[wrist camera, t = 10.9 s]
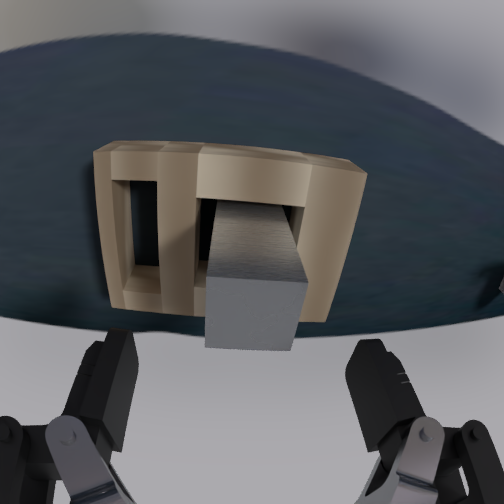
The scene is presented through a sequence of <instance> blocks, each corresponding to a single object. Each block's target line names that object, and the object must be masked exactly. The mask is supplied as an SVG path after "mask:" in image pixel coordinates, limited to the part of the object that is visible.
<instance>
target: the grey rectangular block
mask: <svg viewBox="0 0 504 504" xmlns="http://www.w3.org/2000/svg"><path fill="white" fill-rule="evenodd" d="M308 284H309V282H308V279H307V276H306V273H305V270H304V267H303V264H302V261H301V258H300V256H299V253H298V250H297V247H296V244H295V241H294V238H293V235H292V233H291V230H290V227H289V224H288V221H287V219H286V216H285V213H284V210H283V208H282V205H281V204H271V203H260V202H249V201H237V200H225V199H218V201H217V207H216V214H215V220H214V227H213V233H212V240H211V247H210V254H209V261H208V268H207V276H206V308H205V347H208V348H223V349H242V350H270V351H272V350H273V351H290V350H291V346H292V343H293V339H294V336H295V332H296V329H297V325H298V322H299V318H300V314H301V311H302V307H303V303H304V299H305V295H306V292H307V288H308Z"/></svg>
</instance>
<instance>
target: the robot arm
mask: <svg viewBox="0 0 504 504" xmlns="http://www.w3.org/2000/svg"><path fill="white" fill-rule="evenodd" d="M138 365H139V363H138V356H137V351H136V346H135V342H134V337H133V332H132V331H131V330H126V329H118V328H110V329H109V331H108V333H107V336H106V338H105V341H104V342H102V341H95V342H94V343H93V344H92V345H91V346H90V347H89V348H88V349H87V350H86V353H85V355H84V357H83V360H82V362H81V365H80V367H79V370H78V372H77V373H78V374H77V375H76V377H75V380H74V383H73V386H72V388H71V391H70V394H69V397H68V399H67V403H66V405H65V408H64V411H63V413H62V414H61V416H59V417H57V418H55V419H53V420H52V421H51V422H50V423H49V424H47V425H30V426H21V425H20V424H19V422H18V421H17V420H16V419H14V418H12V417H10V416H1V417H0V504H53V497H54V490H55V484H56V480H62V481H63V483H64V485H65V487H66V489H67V491H68V493H69V496H70V498H71V501H70V504H136V502H135V501H134V499H133V498H132V496H131V495H130V493H129V492H128V490H127V489H126V487H125V486H124V484H123V483H122V481H121V479H120V478H119V476H118V474H117V473H116V471H115V469H114V468H113V466H112V464H111V462H110V459H111V454H112V451H117V452H122V447H123V441H124V436H125V431H126V426H127V420H128V416H129V411H130V406H131V402H132V397H133V393H134V388H135V384H136V380H137V375H138V367H139V366H138ZM345 377H346V382H347V385H348V389H349V391H350V395H351V398H352V401H353V404H354V407H355V411H356V414H357V417H358V420H359V424H360V427H361V430H362V434H363V437H364V440H365V443H366V447H367V450H368V452H372V451H378V450H379V453H380V456H379V457H378V459H377V461H376V463H375V466H374V468H373V470H372V472H371V474H370V477H369V479H368V481H367V483H366V485H365V487H364V489H363V491H362V493H361V495H360V497H359V499H358V500H357V501H356V502H355V504H504V471H503V468H502V465H501V463H500V460H499V458H498V455H497V452H496V449H495V447H494V444H493V442H492V439H491V437H490V435H489V432H488V430H487V428H486V427H485V425H484V424H482V423H481V422H480V421H477V420H470V421H468V422H466V423H465V424H464V425H463V426H462V427H461V428H451V427H442V426H441V424H440V423H439V422H438V421H437V420H435V419H433V418H431V417H427V416H426V415H425V413H424V411H423V409H422V406H421V404H420V402H419V400H418V398H417V395H416V393H415V391H414V389H413V387H412V384H411V383H410V382H409V381H410V380H409V378H408V376H407V374H405V370H404V368H403V366H402V364H401V362H400V360H399V359H398V358H397V357H396V356H395V355H394V354H393V353H392V352H387V351H386V348H385V346H384V344H383V342H382V341H381V340H380V339H366V340H365V339H364V340H360V341H359V342H358V343H357V345H356V347H355V350H354V352H353V354H352V356H351V358H350V360H349V362H348V364H347V367H346V372H345ZM461 466H462V468H463V471H464V474H465V477H466V480H467V484H468V487H469V494H468V496H467V495H466V492H465V489H464V485H463V482H462V479H461V476H460V472H459V468H460V467H461Z"/></svg>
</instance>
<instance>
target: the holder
mask: <svg viewBox="0 0 504 504" xmlns="http://www.w3.org/2000/svg"><path fill="white" fill-rule="evenodd" d="M93 155H94V177H95V192H96V204H97V214H98V224H99V232H100V240H101V248H102V254H103V261H104V267H105V273H106V279H107V285H108V290H109V295H110V300H111V305H112V307H113V308H121V309H129V310H138V311H147V312H157V313H167V314H178V315H189V316H201V317H205V308H206V276H207V268H208V261H201V260H199V243H200V217H201V198H211V199H225V200H237V201H249V202H260V203H271V204H282V205H291V206H292V208H291V214H290V219H289V227H290V230H291V233H292V235H293V238H294V241H295V244H296V247H297V250H298V253H299V256H300V258H301V261H302V264H303V267H304V270H305V273H306V276H307V279H308V282H309V284H308V288H307V292H306V295H305V299H304V303H303V307H302V311H301V314H300V318H299V322H325V321H326V318H327V315H328V312H329V309H330V306H331V303H332V300H333V297H334V294H335V291H336V288H337V284H338V281H339V278H340V275H341V271H342V268H343V265H344V261H345V258H346V255H347V251H348V248H349V244H350V241H351V237H352V233H353V230H354V226H355V222H356V218H357V214H358V210H359V207H360V203H361V198H362V194H363V190H364V186H365V182H366V177H367V173H366V172H364V171H363V170H362V169H360V168H359V167H358V166H356V165H355V164H353V163H352V162H351V161H349V160H346V159H340V158H334V157H328V156H322V155H315V154H308V153H301V152H294V151H286V150H278V149H270V148H260V147H250V146H240V145H228V144H214V143H197V142H175V141H113V142H111V143H109V144H107V145H105V146H103V147H101V148H99V149H97V150H96V151H94V152H93ZM130 180H142V181H157V212H158V246H159V266H160V267H157V266H145V265H135V257H134V246H133V234H132V219H131V200H130Z"/></svg>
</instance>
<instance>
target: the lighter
mask: <svg viewBox="0 0 504 504" xmlns="http://www.w3.org/2000/svg"><path fill="white" fill-rule="evenodd" d="M499 289H500V291H501V292H502V293H503V294H504V277H503V280H502V282H501V284H500V287H499Z"/></svg>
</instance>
